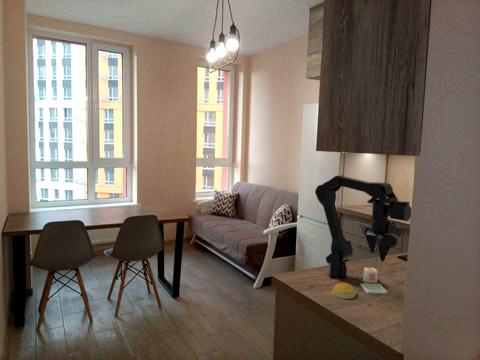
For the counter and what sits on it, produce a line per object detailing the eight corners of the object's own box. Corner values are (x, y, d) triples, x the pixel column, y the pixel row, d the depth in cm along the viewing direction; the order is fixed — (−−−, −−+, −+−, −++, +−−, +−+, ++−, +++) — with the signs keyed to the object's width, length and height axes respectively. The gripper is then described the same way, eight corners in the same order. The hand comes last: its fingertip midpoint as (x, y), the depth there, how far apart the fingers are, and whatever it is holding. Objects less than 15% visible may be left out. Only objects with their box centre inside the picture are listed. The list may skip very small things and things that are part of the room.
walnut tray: (363, 285, 139) (364, 282, 139) (357, 278, 147) (357, 276, 147) (382, 286, 139) (382, 283, 139) (375, 279, 147) (375, 276, 147)
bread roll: (329, 297, 128) (330, 286, 128) (335, 288, 136) (335, 278, 136) (353, 302, 125) (354, 291, 124) (357, 293, 133) (358, 282, 132)
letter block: (366, 283, 141) (367, 271, 140) (363, 279, 145) (364, 267, 144) (376, 283, 141) (377, 271, 140) (373, 279, 145) (373, 267, 144)
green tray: (367, 294, 131) (367, 291, 131) (360, 286, 139) (360, 283, 139) (387, 294, 131) (387, 291, 131) (379, 287, 139) (379, 284, 139)
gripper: (414, 222, 124) (410, 265, 125) (390, 212, 142) (387, 250, 144) (382, 221, 123) (379, 265, 125) (362, 211, 142) (360, 249, 144)
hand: (377, 256), depth 134 cm, fingers open, 9 cm apart
